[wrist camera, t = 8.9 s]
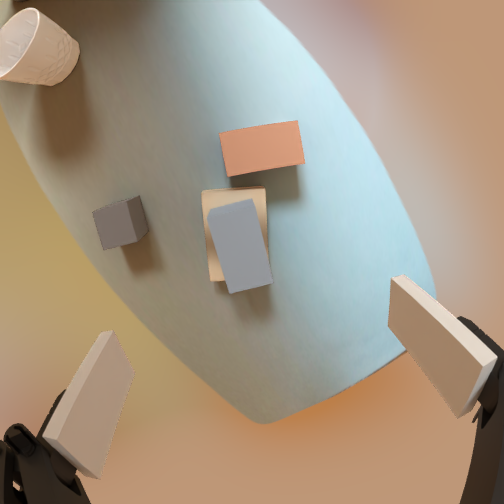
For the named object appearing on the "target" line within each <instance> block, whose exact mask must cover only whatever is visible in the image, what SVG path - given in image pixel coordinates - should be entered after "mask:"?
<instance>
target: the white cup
mask: <svg viewBox="0 0 504 504" xmlns="http://www.w3.org/2000/svg"><path fill="white" fill-rule="evenodd" d="M79 54H80V49H79V43H78V42H77V41H76V40H75V39H73V38H72V37H71V36H70V35H68V33H67V32H66V31H65V30H63V29H62V28H61V27H60V26H58V25H57V24H56V23H55V22H54V21H52V20H51V19H49V18H48V17H47V16H45V15H44V14H42V13H41V12H40V11H38V10H37V9H35V8H26V9H24V10H22V11H20V12H18V13H17V14H15V15H14V16H13V17H12V18H10V19H9V20H8V21H7V22H6V24H5V25H4V26H3V27H2V28H1V30H0V80H6V81H13V82H19V83H27V84H40V85H46V86H53V85H55V84H58V83H60V82H62V81H63V80H64V79H65V78H66V77H67V76H68V75H69V74H70V73H71V72H72V70H73V68H74V67H75V65H76V64H77V61H78V57H79Z"/></svg>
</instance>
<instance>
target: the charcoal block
mask: <svg viewBox="0 0 504 504" xmlns="http://www.w3.org/2000/svg"><path fill="white" fill-rule="evenodd" d="M92 213H93V217H94V220H95V224H96V227H97V231H98V234H99V237H100V240H101V244H102V247H103V250H106V249H110V248H114V247H118V246H122V245H126V244H130V243H134V242H138V241H139V240H140V239H141V238H142V237H143V236H144V235H145V234H146V233H147V232H148V231H149V230H148V226H147V223H146V219H145V215H144V212H143V208H142V204H141V200H140V196H136V197H133V198H129V199H126V200H123V201H119V202H116V203H113V204H110V205H107V206H105V207H102V208H100V209H98V210H96V211H93V212H92Z"/></svg>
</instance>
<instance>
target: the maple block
mask: <svg viewBox="0 0 504 504" xmlns="http://www.w3.org/2000/svg"><path fill="white" fill-rule="evenodd" d="M251 198H252V200H253V202H254V204H255V207H256V211H257V216H258V220H259V224H260V228H261V232H262V236H263V240H264V244H265V248H266V253H267V257H268V237H267V213H266V191H265V188H264V187H263V186H251V187H236V188H223V189H211V190H204V191H203V192H202V193H201V199H202V210H203V220H204V230H205V239H206V249H207V257H208V266H209V274H210V282H211V281H225V278H224V275H223V272H222V268H221V265H220V262H219V259H218V255H217V252H216V249H215V245H214V242H213V239H212V235H211V232H210V228H209V225H208V222H207V216H208V214H209V211H210V209H213V208H216V207H220V206H224V205H228V204H232V203H235V202H239V201H243V200H247V199H251Z"/></svg>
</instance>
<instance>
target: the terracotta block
mask: <svg viewBox="0 0 504 504" xmlns="http://www.w3.org/2000/svg"><path fill="white" fill-rule="evenodd" d="M219 136H220V141H221V147H222V152H223V157H224V162H225V167H226V172H227V177H230V176H235V175H240V174H245V173H250V172H256V171H261V170H267V169H273V168H279V167H285V166H292V165H298V164H305V159H304V153H303V148H302V142H301V136H300V131H299V126H298V120H297V121H289V122H281V123H274V124H267V125H261V126H254V127H248V128H243V129H237V130H232V131H227V132H222V133H219Z"/></svg>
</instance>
